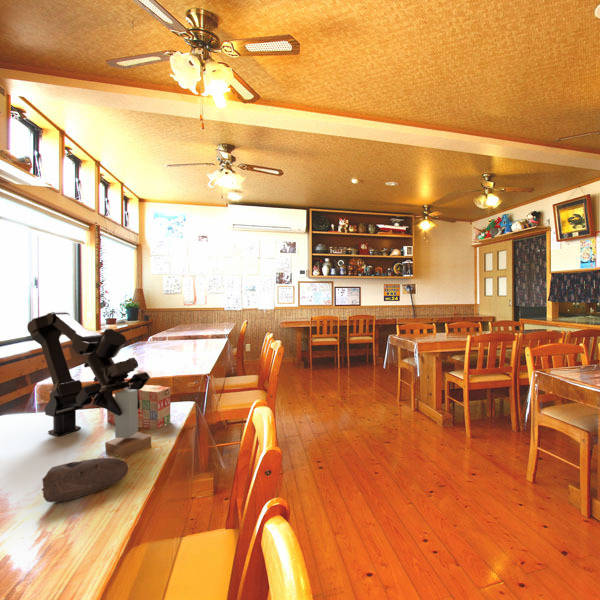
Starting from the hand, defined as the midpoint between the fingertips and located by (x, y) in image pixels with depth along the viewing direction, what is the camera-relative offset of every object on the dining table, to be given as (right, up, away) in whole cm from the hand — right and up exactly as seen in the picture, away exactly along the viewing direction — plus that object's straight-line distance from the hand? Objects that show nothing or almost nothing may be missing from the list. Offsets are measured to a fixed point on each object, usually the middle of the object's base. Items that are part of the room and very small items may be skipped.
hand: (129, 411), depth 85 cm
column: (-1, -7, +1) cm, 7 cm away
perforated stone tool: (+2, -11, -19) cm, 22 cm away
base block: (-1, -11, +1) cm, 11 cm away
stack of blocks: (-8, -11, +19) cm, 24 cm away
